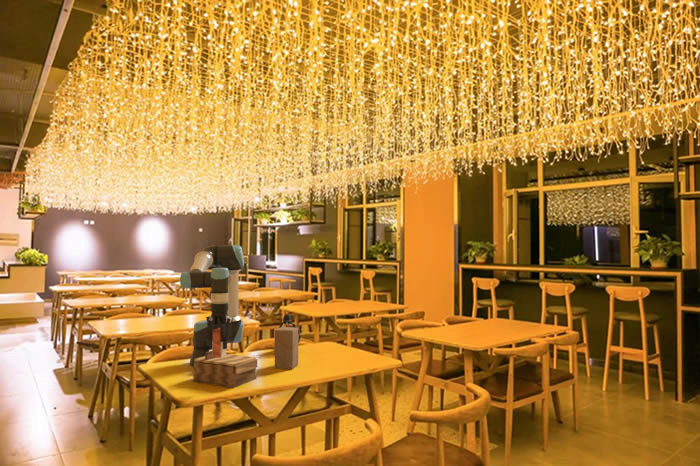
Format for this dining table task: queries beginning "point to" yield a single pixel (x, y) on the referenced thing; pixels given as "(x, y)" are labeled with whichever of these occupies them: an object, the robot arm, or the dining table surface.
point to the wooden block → (286, 347)
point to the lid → (231, 361)
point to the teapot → (288, 321)
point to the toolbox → (221, 375)
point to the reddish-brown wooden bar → (217, 343)
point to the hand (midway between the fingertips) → (219, 355)
